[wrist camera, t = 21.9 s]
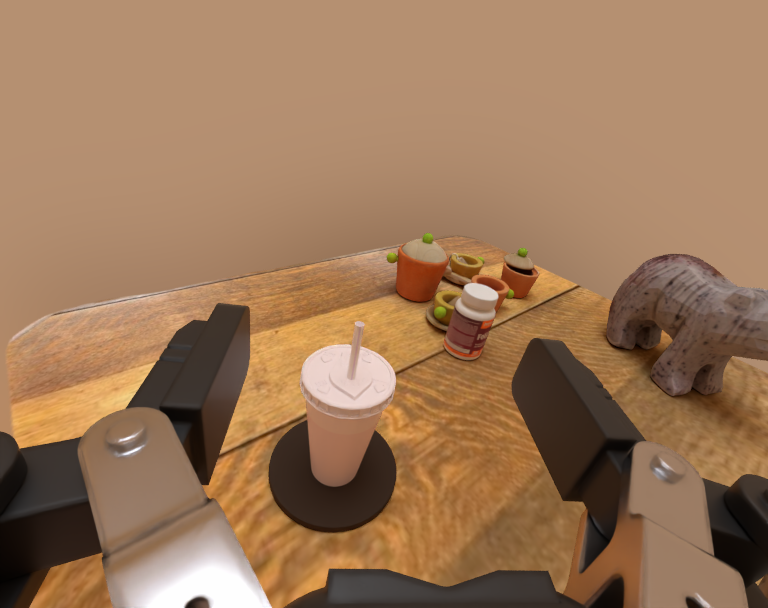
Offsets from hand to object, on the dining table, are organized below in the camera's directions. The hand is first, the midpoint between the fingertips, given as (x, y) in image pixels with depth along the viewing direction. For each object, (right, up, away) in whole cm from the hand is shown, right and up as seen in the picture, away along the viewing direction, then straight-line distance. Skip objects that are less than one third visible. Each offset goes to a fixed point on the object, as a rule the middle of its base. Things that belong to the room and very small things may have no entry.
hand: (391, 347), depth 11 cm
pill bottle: (+9, -5, +37) cm, 39 cm away
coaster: (-4, -12, +20) cm, 24 cm away
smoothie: (-4, -12, +20) cm, 23 cm away
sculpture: (+38, -8, +41) cm, 56 cm away
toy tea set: (+12, +3, +50) cm, 52 cm away
